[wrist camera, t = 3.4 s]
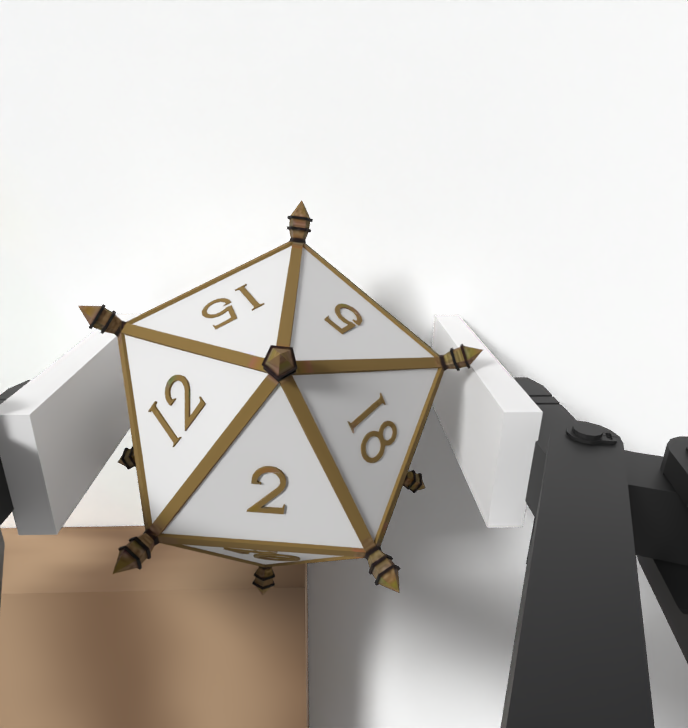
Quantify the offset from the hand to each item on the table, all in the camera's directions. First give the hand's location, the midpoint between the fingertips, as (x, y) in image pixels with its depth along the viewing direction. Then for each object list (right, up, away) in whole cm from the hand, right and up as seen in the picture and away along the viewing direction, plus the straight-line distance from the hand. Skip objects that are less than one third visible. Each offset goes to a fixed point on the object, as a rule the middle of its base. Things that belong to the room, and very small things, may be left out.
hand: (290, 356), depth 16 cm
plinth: (-6, -12, +5) cm, 14 cm away
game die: (0, 0, 0) cm, 0 cm away
